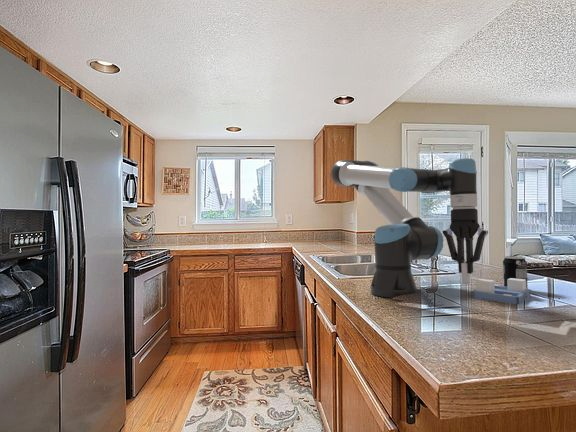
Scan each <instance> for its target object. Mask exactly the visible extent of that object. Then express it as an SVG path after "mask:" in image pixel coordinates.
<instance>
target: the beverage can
mask: <svg viewBox="0 0 576 432" xmlns="http://www.w3.org/2000/svg"><path fill="white" fill-rule="evenodd" d="M502 274H503V275H502V279H503V285H502V286H505V287H507V279H509V278H515V279H526V289H529V288H528V262H527V260H526V257H524V256H516V255H515V256H514V255H512V256H511V255H510V256H509V255H508V256H504V259H503V261H502Z"/></svg>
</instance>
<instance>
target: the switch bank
mask: <svg viewBox="0 0 576 432" xmlns="http://www.w3.org/2000/svg"><path fill="white" fill-rule="evenodd" d="M530 297H531V288H530V289H529V288H528V289H526V290H525V291H523V292H519V291H511V290H507V287H505V286H504V285H499V284H495V293H487V292H479V291H476V288H475V289H473V290H471V299H478V300H486V301H493V302H500V303H507V304H514V305H521V303H523V302H524V301H526V300H527V299H528V298H530Z"/></svg>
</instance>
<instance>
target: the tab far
mask: <svg viewBox="0 0 576 432" xmlns="http://www.w3.org/2000/svg"><path fill="white" fill-rule="evenodd" d="M507 290H511V291H519V292H523V291H525V290H526V279H515V278H509V279H507Z"/></svg>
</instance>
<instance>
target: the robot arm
mask: <svg viewBox="0 0 576 432" xmlns="http://www.w3.org/2000/svg"><path fill="white" fill-rule="evenodd" d="M448 164H449V165H448V167H447V168H442V169H441V168H440V169H426V168H425V169H423V168H412V167H411V168H410V167H395V166H382V165H380V166H379V165H378V164H377V163H376V162H374V161H369V160H355V159H340V160H339V161H336V162H335V163H334V164H333V165H332V167H331V169H330V176H331V177H330V178H331V179H332V181H333V182H334V183H335V184H336V185H337V186H340V187H345V188H354V189H356V191H357V192H358V193H359V195H361V196H365V197H367V199H368V200H369V201H370V202H371V204H372V205H373V206H374V207H375V209H376V210H377V211H378V212H379V214H381V216H382V217H383V218H384V220H385V221H386V222H387V223H388V224H386V225H385V224H384V225H381V226H378V227H376V229H375V231H374V239H373V242H374V260H375V261H374V265H375V267H374V268H375V270H374V274H373V277H372V280H371V284H370V294H372V295H374V296H377V297H382V298H390V299H394V298H396V297H399V296H403V295H412V294H416V293H417V292H418V286H417V284H416V282H415V279H414V276H413V273H412V261H418V260H420V261H422V260H430V259H434V258H436V257H437V256H439V255H440V254H441V252H442V251H443V248H444V237H445V240H446V242H447V246H448V250H449V254H450V257H451V260H453V261H456V262H457V265H458V273H461V284H462V285H469V284H471V274H473V272H474V263H476V262H479V261H480V260H481V259H480V258H481V255H482V250H483V246H484V243H485V239H486V237H487V236H488V234H489V230H485V229H484V228H482V227H481V226H480V223H479V214H478V209H477V207H478V192H477V174H478V172H477V166H476V161H475V159H473V158H468V157H467V158H456V159H453V160H450V161H449V163H448ZM391 190H394V191H396V192H401V193H403V192H404V193H405V192H406V193H407V192H414V193H415V192H417V193H422V194H433V193H441V192H449V197H450V201H449V202H450V203H449V204H450V208H452V209H451V210H450V225H449V228H447V229H445V230H442V232H441V231H440V229H439V228H437V227H436V226H434V225H429V226H428V225H427V224H426V223H425V222H424V220H423V219H422V218H420V217H419V216H413V214H412V213H411V212H410V211H409V210H408V209H407V208H406V207H405V206H404V205H403V204H402V203H401V201H400V200H399V199H398V197H396V195H394V194H393V192H391ZM453 234H454V236H455V237H456V238H455V239H456V244H455V241H454V237H453ZM476 234H477V235H478V236H477V238H476V243H475V248H474V245H473V242H474V241H473V240H474V237H475V235H476ZM456 247H457V248H456ZM465 256H466V259H465Z"/></svg>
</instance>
